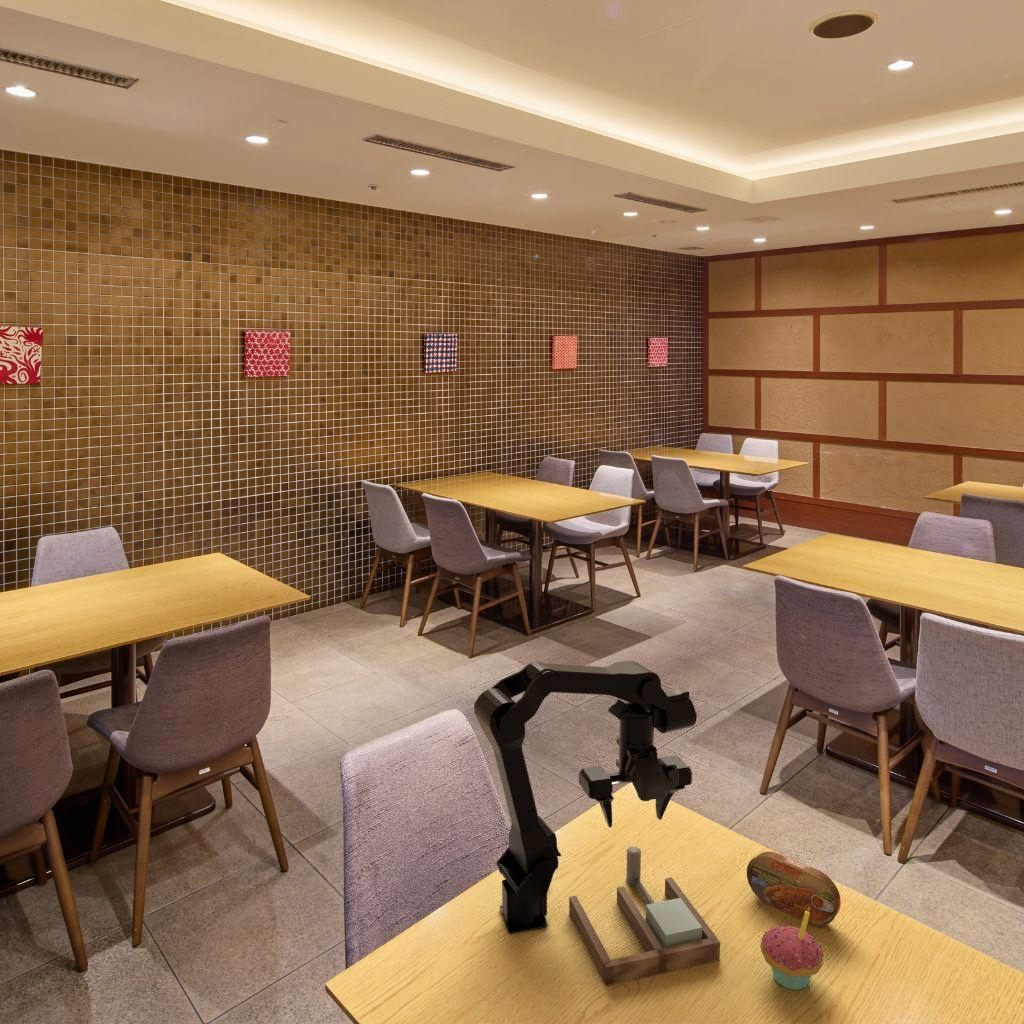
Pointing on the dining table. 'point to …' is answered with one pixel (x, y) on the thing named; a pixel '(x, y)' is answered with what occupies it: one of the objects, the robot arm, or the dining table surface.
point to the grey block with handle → (663, 910)
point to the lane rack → (644, 941)
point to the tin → (794, 888)
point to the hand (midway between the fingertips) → (634, 822)
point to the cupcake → (792, 954)
